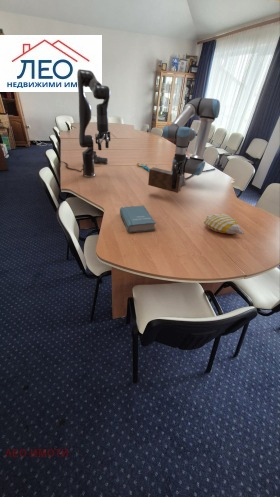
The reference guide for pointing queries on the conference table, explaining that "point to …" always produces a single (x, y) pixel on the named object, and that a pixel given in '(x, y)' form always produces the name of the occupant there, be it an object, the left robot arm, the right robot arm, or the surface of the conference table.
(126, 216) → the book
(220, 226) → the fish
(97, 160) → the laser sight
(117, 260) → the conference table surface
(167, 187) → the box
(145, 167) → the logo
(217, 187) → the conference table surface
